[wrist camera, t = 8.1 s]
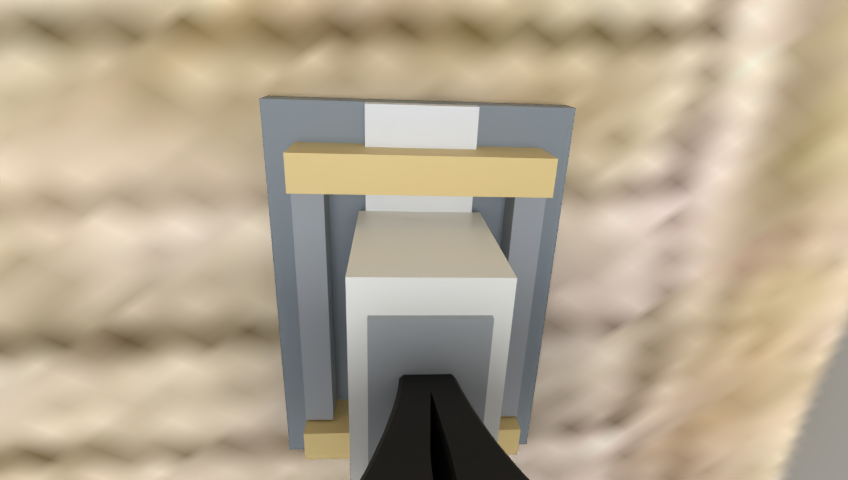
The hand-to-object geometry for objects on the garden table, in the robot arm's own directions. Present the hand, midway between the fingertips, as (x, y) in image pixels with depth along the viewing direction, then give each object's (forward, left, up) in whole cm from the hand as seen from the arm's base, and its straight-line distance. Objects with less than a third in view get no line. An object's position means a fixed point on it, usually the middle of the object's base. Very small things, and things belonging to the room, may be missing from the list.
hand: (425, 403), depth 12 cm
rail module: (0, 0, -5) cm, 5 cm away
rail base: (0, 0, -7) cm, 7 cm away
